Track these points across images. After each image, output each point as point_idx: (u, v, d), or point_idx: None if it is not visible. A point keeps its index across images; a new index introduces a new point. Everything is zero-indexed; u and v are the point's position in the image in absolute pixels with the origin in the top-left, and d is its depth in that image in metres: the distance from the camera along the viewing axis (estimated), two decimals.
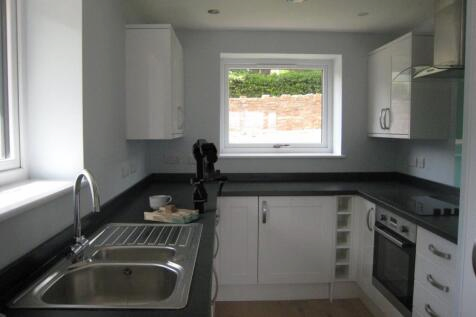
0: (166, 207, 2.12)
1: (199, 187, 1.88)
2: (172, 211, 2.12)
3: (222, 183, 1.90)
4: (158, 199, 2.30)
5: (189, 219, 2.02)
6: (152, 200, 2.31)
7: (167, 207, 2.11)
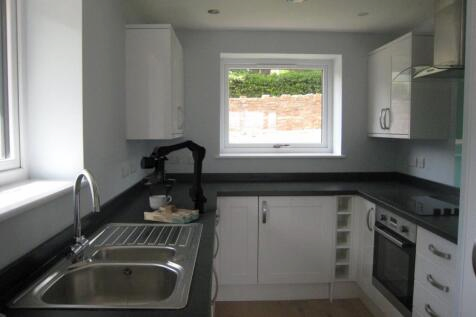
0: (166, 207, 2.12)
1: (148, 187, 2.07)
2: (172, 211, 2.12)
3: (167, 186, 2.03)
4: (158, 199, 2.30)
5: (189, 219, 2.02)
6: (152, 200, 2.31)
7: (167, 207, 2.11)
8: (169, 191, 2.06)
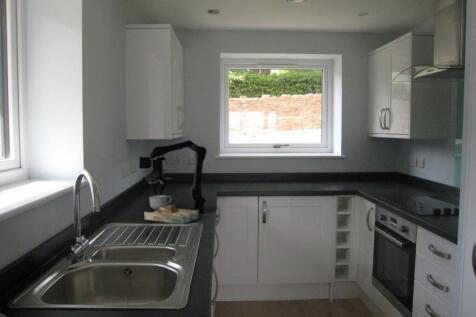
0: (166, 207, 2.12)
1: (152, 186, 2.15)
2: (172, 211, 2.12)
3: (159, 185, 2.12)
4: (158, 199, 2.30)
5: (189, 219, 2.02)
6: (152, 200, 2.31)
7: (167, 207, 2.11)
8: (163, 189, 2.15)
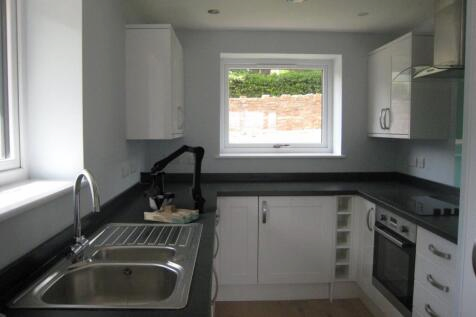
0: (166, 207, 2.12)
1: (155, 201, 2.15)
2: (172, 211, 2.12)
3: (158, 199, 2.13)
4: None
5: (189, 219, 2.02)
6: (152, 200, 2.31)
7: (167, 207, 2.11)
8: (161, 203, 2.17)
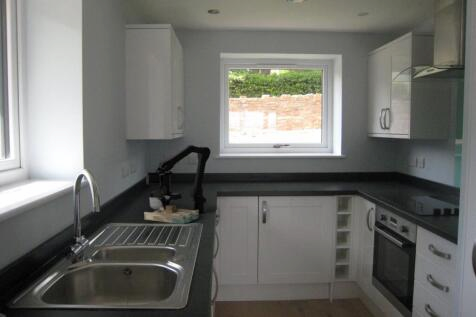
0: (167, 207, 2.11)
1: (162, 201, 2.13)
2: (173, 211, 2.12)
3: (164, 200, 2.11)
4: (158, 199, 2.30)
5: (189, 219, 2.02)
6: (152, 200, 2.31)
7: (168, 207, 2.11)
8: (168, 204, 2.15)
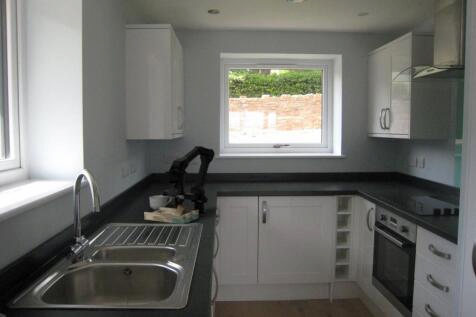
0: (179, 207, 2.07)
1: (175, 201, 2.09)
2: (183, 212, 2.08)
3: (178, 199, 2.07)
4: (158, 199, 2.30)
5: (189, 219, 2.02)
6: (152, 200, 2.31)
7: (179, 207, 2.07)
8: None
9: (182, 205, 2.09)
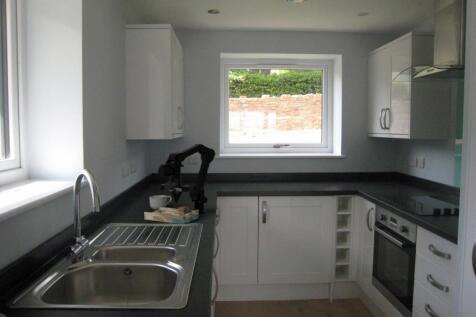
0: (179, 208, 2.08)
1: (172, 194, 2.10)
2: (185, 213, 2.07)
3: (176, 192, 2.07)
4: (158, 199, 2.30)
5: (189, 219, 2.02)
6: (152, 200, 2.31)
7: (180, 209, 2.07)
8: (179, 197, 2.11)
9: (182, 206, 2.09)
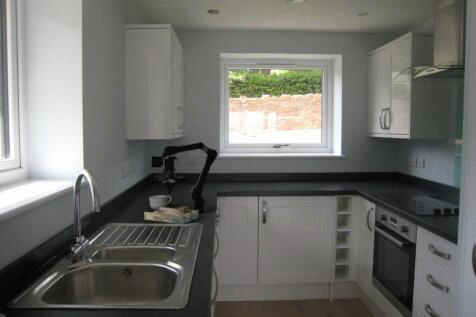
0: (179, 208, 2.08)
1: (166, 185, 2.19)
2: (185, 213, 2.07)
3: (169, 183, 2.17)
4: (158, 199, 2.30)
5: (189, 219, 2.02)
6: (152, 200, 2.31)
7: (180, 209, 2.07)
8: (172, 188, 2.20)
9: (182, 206, 2.09)
